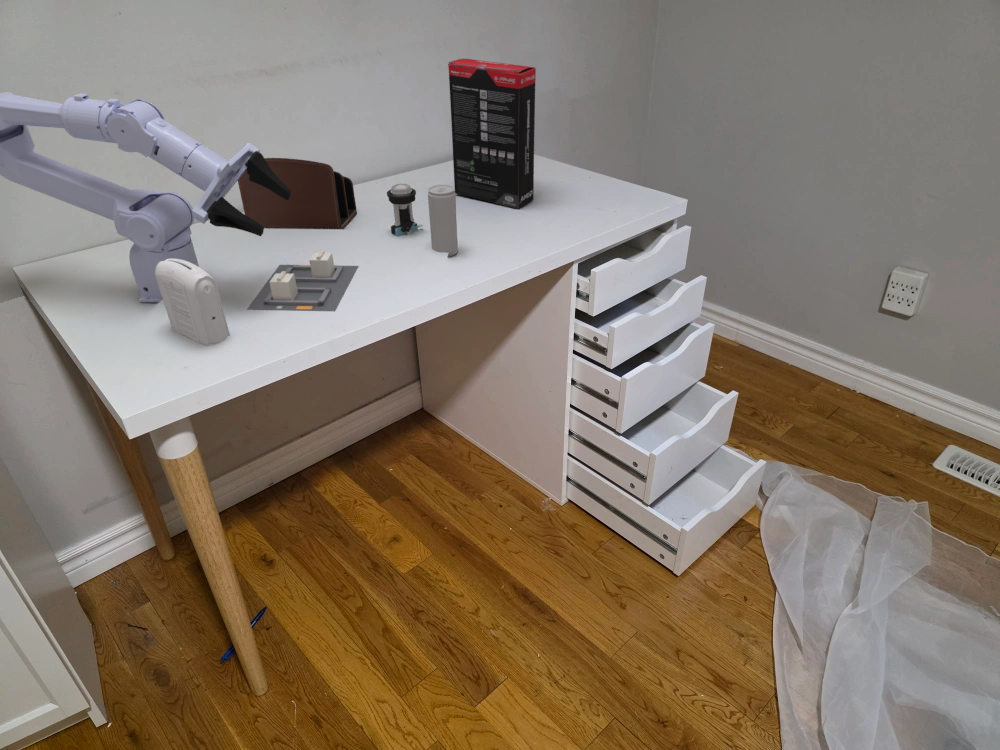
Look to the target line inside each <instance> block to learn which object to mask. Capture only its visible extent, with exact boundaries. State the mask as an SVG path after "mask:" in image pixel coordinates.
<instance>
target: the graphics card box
mask: <svg viewBox="0 0 1000 750" xmlns="http://www.w3.org/2000/svg"><path fill="white" fill-rule="evenodd" d="M447 67H448V79H449V100H450V101H449V104H450V121H451V138H452V139H451V142H452V159H453V161H452V163H453V178H454V180H453V181H454V182H453V183H454V191H455V195H461V196H464V197H468V198H471V199H476V200H480V201H484V202H488V203H489V202H490V203H492V204H496V205H502V206H505V207H509V208H513V209H516V210H517V209H520V208H522V207H524V206H525V205H527V204H529V203H530V202H531V201H533V200H534V185H535V184H534V182H535V181H534V177H535V176H534V175H535V173H534V172H535V171H534V170H535V169H534V168H535V125H536V124H535V122H536V121H535V119H536V117H535V115H536V109H535V108H536V71H537V69H536V67H534V66H526V65H519V64H510V63H504V62H495V61H488V60H487V61H485V60H479V59H471V58H458V59H455V60H452V61H448V63H447Z"/></svg>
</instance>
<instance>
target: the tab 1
mask: <svg viewBox="0 0 1000 750" xmlns="http://www.w3.org/2000/svg"><path fill="white" fill-rule="evenodd" d="M269 283H270V287H271V292H272V296H273V300H294V299H295V297H296V296H297V294H298V290H297V285H296V280H295V276H294V274H286V271H282V272H281V273H276V274H275V275H274V276H273V278H272V279H271V280H270V282H269Z"/></svg>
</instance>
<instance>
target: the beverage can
mask: <svg viewBox="0 0 1000 750" xmlns="http://www.w3.org/2000/svg"><path fill="white" fill-rule="evenodd" d="M427 192H428V193H427V200H428V201H427V203H428V214H429V215H428V216H429V227H430V241H431V242H430V243H431V249H432V250H433V251H435V252H438V253H448V255H447V258H450V257H453V256H455V255H456V254H457V253H458V250H459V247H458V246H459V245H458V242H459V241H458V227H457V226H458V225H457V200H456V199H457V198H456V195H457V194H455V186H452V185H449V184H435V185H432V186H430V187H428V191H427Z"/></svg>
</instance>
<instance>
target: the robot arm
mask: <svg viewBox="0 0 1000 750" xmlns="http://www.w3.org/2000/svg"><path fill="white" fill-rule="evenodd" d="M29 127H43V128H45V127H46V128H56V129H64V130H65V131H66V132H67V133H68V134H69V135H70V136H71V137H73V138H75V139H81V140H88V141H94V142H95V141H96V142H104V143H110V144H117V148H118V149H119V150H121V151H124V152H125V153H138V154H141V155H142V156H144V157H146V158H147V157H149V158H150V159H152V160H153V161H155V162H157V163H158V164H160V165H161V166H163V167H165V168H166V169H168V170H169V171H172V172H173V173H175V174H176V175H178V176H179V177H181V178H182V179H184V180H186V181H187V182H189V183H191V185H194V186H195V187H197V188H199V189H200V190H202V191H204V192H203V194H202V195H201V198H200V199H199V201H198V202H197V203H196V204H195V205H194V207H193V206H192V205H191V203H190V202H189V201H188V200H187V199H186V198H185V197H184V196H183V195H181V194H179V193H177V192H172V191H165V192H160V191H158V190H155V189H153V188H152V189H151V188H147V189H146V188H144V189H130V188H127V187H125V186H123V185H120V184H118V183H117V184H116V183H114V182H111V181H109V180H106V179H103V178H101V177H99V176H96V175H94V174H91V173H88V172H87V171H86V172H85V171H83V170H81V169H78V168H76V167H73V166H70V165H68V164H65V163H63V162H60V161H58V160H55V159H53V158H50V157H48V156H45V155H43V154H41V153H40V154H39V153H37V152H35V151H34V149H35V143H34V140H33V138H32V135H31V133H30V131H29V130H30V129H29ZM260 150H261V149H260V148H258V146H255V145H253V144H252V143H250V142H247V143H246V145H244V146H243V148H241V149H240V150H239V151H238V152H237V153H235V154H234V156H232V157H231V158H230V159H229V160H228V159H226V158H225V157H223V156H222V155H220V154H218V153H216V151H213V150H211V149H210V148H209V147H207V146H206V145H204V144H203V143H201V142H200V141H198V140H196V139H194V138H193V137H192V136H190V135H189V134H187V133H185V132H183V131H182V130H180V129H179V128H177V127H176V126H174V125H173V124H172V123H169V122H168V121H166V120H165V117H164V114H163V113H162V111H160V109H159V108H158V107H157V106H156V105H154V104H153V103H151V102H149V101H147V100H145V99H144V100H143V99H141V98H135V99H133V100H131V101H129V102H128V103H127V104H125V103H122V102H120V99H118V98H110V99H108V100H101V99H95V98H90V97H89V94H88V93H83V92H82V93H81V92H80V93H77V94H74V95H73V96H71V97H68V98H67V99H66V100H65V101H64V102H63V103H60V102H55V101H51V100H50V101H49V100H44V99H39V98H38V99H37V98H35V97H34V98H33V97H28V96H23V95H16V94H14V93H12V92H11V91H4V92H0V176H1V177H3V179H6V180H8V181H10V182H12V183H15V184H17V185H21V186H23V187H25V188H28V189H31V190H33V191H35V192H38V193H40V194H42V195H43V194H44V195H46V196H48V197H51V198H54V199H56V200H59V201H62V202H64V203H66V204H70V205H71V206H75V207H77V208H80V209H83V210H85V211H87V212H90V213H93V214H95V215H98V216H101V217H104V218H105V219H108V220H111V221H113V222H114V223H113V224H114V227H115V229H116V233H117V234H118V235H120V236H122V237H124V238H126V239H129V240H130V241H131V242H132V243H133V244H132V246H131V248H130V250H129V256H128V258H129V265H130V268H131V272H132V275H133V277H134V280H135V283H136V285H137V288H138V292H139V295H140V297H139V299H138V300H139V302H140V303H160V302H161V301H163V298H162V295H161V292H160V289H159V286H158V282H157V279H156V276H155V270H156V266H157V265H158V263H159V262H161V261H165V260H166V259H181V260H185V261H188V262H190V263H192V264H194V265H196V266H198V267H200V265H199V262H198V258H197V254H196V251H195V248H194V244H193V239H192V237H191V235H192V229H191V226H192V225H193V223H194V220H197V222H199V223H201V224H203V225H205V224H206V222H207V221H208V220H209V223H210V224H211V225H213V226H214V227H223V228H232V229H236V230H240V231H245V232H247V233H249V234H254V235H256V236H258V237H262V235H263V234H264V229H265V228H264V227H263V226H262V225H260V224H259V223H258V222H256V221H254V220H253V219H251V218H249V217H248V216H246V215H245V213H244V212H241V211H240V210H239V209H238V208H236V207H235V206H234V205H232V204H231V203H230V202H229V201H228V200H227V199H226V198H225V197H226V196H227V195H228V193H229V192H230V191H231V190H232V188H233V187H234V185H236V183H238V180H239V178H240V177H241V176H242V175H243V173H244V172H245V171H248V172H247V174H249V181H252V182H254V183H257V184H259V185H262V186H264V187H266V188H268V189H269V190H271V191H273V192H274V193H276V194H277V195H279V196H280V197H282V198H284V199H286V200H289V199H290V197H291V192H292V191H291V190H290V189H289V188H288V187H287V186H286V185H285V184H284V183H283V182H282V181H281V180H280V179H279V178H278V177H277V176H276V174H275V173H274V172H273V171H272V169H271V168H270V167H269V165H268V164H267V162H266V160H265V159H264V158H265V157H264V155H263V154H262V153H261V152H260Z"/></svg>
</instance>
